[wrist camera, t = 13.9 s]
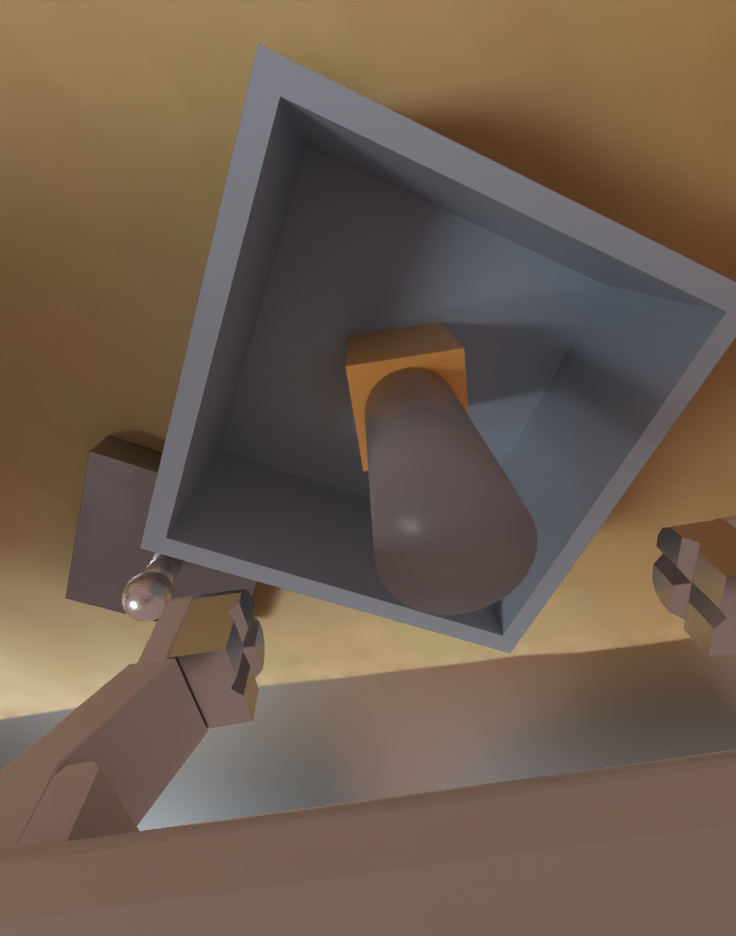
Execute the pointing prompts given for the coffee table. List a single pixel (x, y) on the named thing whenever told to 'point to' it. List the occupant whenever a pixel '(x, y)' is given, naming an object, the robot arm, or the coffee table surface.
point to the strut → (433, 476)
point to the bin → (403, 305)
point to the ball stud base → (130, 540)
